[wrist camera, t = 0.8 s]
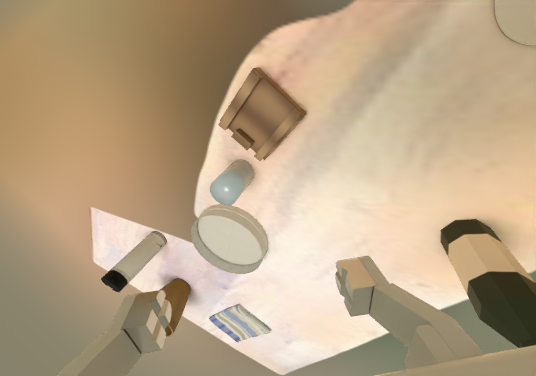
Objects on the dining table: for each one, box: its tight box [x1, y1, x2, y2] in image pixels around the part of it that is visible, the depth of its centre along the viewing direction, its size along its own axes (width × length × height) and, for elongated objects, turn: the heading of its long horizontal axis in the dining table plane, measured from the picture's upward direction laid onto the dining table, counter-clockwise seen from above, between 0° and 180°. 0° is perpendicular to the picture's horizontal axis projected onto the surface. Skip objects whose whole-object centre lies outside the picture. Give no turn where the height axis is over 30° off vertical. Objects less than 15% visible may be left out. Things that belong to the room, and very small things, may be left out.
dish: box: [191, 204, 268, 274], centre depth 63 cm, size 22×22×5 cm
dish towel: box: [209, 304, 271, 342], centre depth 90 cm, size 17×24×3 cm
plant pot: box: [159, 279, 190, 337], centre depth 82 cm, size 15×15×16 cm
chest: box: [219, 68, 306, 161], centre depth 42 cm, size 12×12×5 cm
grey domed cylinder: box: [210, 160, 254, 205], centre depth 49 cm, size 6×6×10 cm
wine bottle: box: [441, 219, 536, 348], centre depth 32 cm, size 8×8×30 cm
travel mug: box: [101, 231, 166, 292], centre depth 69 cm, size 6×7×20 cm
